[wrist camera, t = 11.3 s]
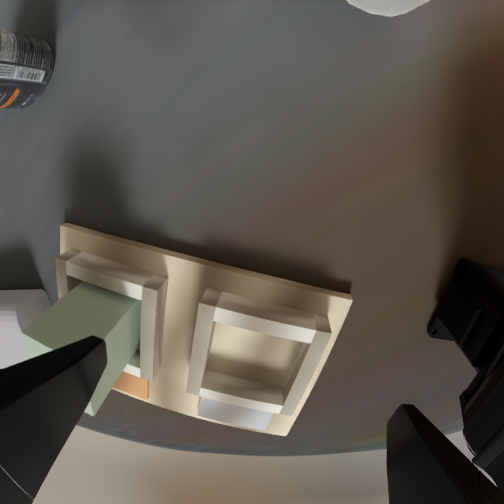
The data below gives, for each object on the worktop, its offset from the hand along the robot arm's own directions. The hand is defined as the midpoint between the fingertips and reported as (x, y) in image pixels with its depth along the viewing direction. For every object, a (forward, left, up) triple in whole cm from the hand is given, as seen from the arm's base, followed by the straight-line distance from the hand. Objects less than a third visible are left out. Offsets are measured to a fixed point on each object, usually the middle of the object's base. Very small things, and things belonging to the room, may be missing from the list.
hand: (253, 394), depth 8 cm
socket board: (+5, +9, -12) cm, 15 cm away
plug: (+10, +7, -11) cm, 16 cm away
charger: (+24, +15, -12) cm, 31 cm away
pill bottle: (+22, -10, -12) cm, 27 cm away
